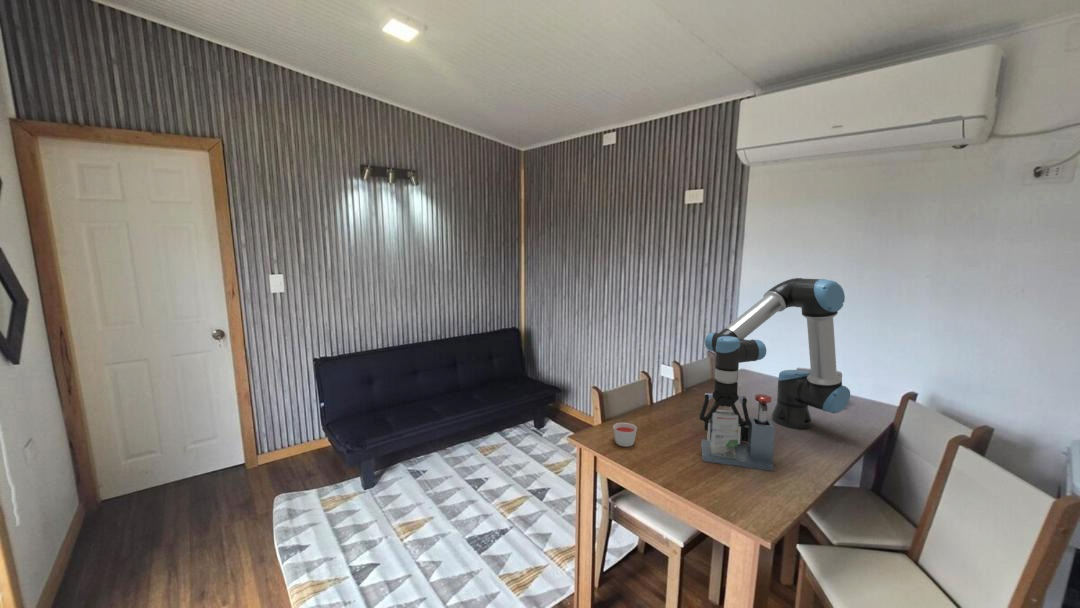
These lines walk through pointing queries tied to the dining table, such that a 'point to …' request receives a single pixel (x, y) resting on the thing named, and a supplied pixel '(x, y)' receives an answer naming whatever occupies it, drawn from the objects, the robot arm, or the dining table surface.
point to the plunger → (762, 407)
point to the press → (745, 448)
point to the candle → (624, 434)
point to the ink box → (724, 428)
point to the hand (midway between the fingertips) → (723, 440)
